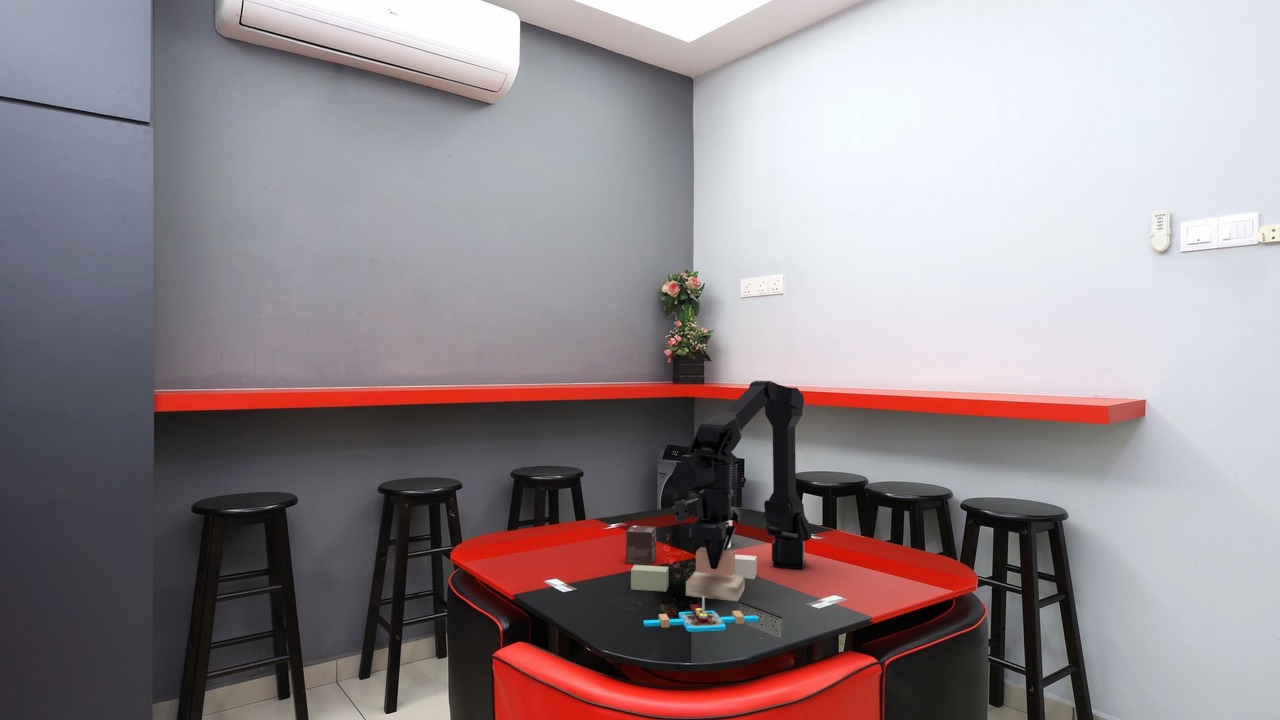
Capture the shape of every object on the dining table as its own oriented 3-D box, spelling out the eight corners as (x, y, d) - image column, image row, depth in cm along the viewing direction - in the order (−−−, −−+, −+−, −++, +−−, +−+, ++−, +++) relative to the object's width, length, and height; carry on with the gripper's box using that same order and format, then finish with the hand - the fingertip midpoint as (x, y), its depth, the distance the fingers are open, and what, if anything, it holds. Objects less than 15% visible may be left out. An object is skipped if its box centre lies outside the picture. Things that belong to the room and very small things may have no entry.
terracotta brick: (734, 571, 138) (735, 550, 138) (731, 575, 135) (731, 555, 135) (700, 567, 141) (700, 547, 141) (695, 572, 137) (696, 551, 137)
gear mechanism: (639, 617, 125) (647, 637, 115) (639, 586, 125) (647, 604, 116) (748, 612, 128) (764, 631, 118) (748, 582, 128) (765, 599, 118)
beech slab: (744, 590, 140) (744, 575, 140) (737, 603, 132) (737, 587, 132) (695, 585, 143) (695, 571, 143) (685, 597, 135) (686, 582, 135)
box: (651, 565, 156) (652, 532, 156) (625, 563, 157) (625, 530, 157) (656, 558, 162) (656, 526, 162) (631, 556, 163) (631, 525, 163)
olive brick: (668, 586, 141) (668, 566, 141) (666, 592, 138) (666, 571, 138) (634, 584, 142) (634, 564, 142) (630, 590, 139) (631, 569, 139)
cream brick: (756, 575, 150) (756, 556, 150) (754, 579, 147) (754, 560, 147) (723, 572, 152) (724, 553, 152) (721, 576, 149) (721, 557, 149)
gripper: (689, 477, 149) (688, 551, 149) (663, 491, 132) (662, 575, 132) (741, 480, 146) (740, 556, 146) (721, 495, 128) (721, 581, 128)
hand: (716, 566), depth 138 cm, fingers closed on terracotta brick, 3 cm apart
